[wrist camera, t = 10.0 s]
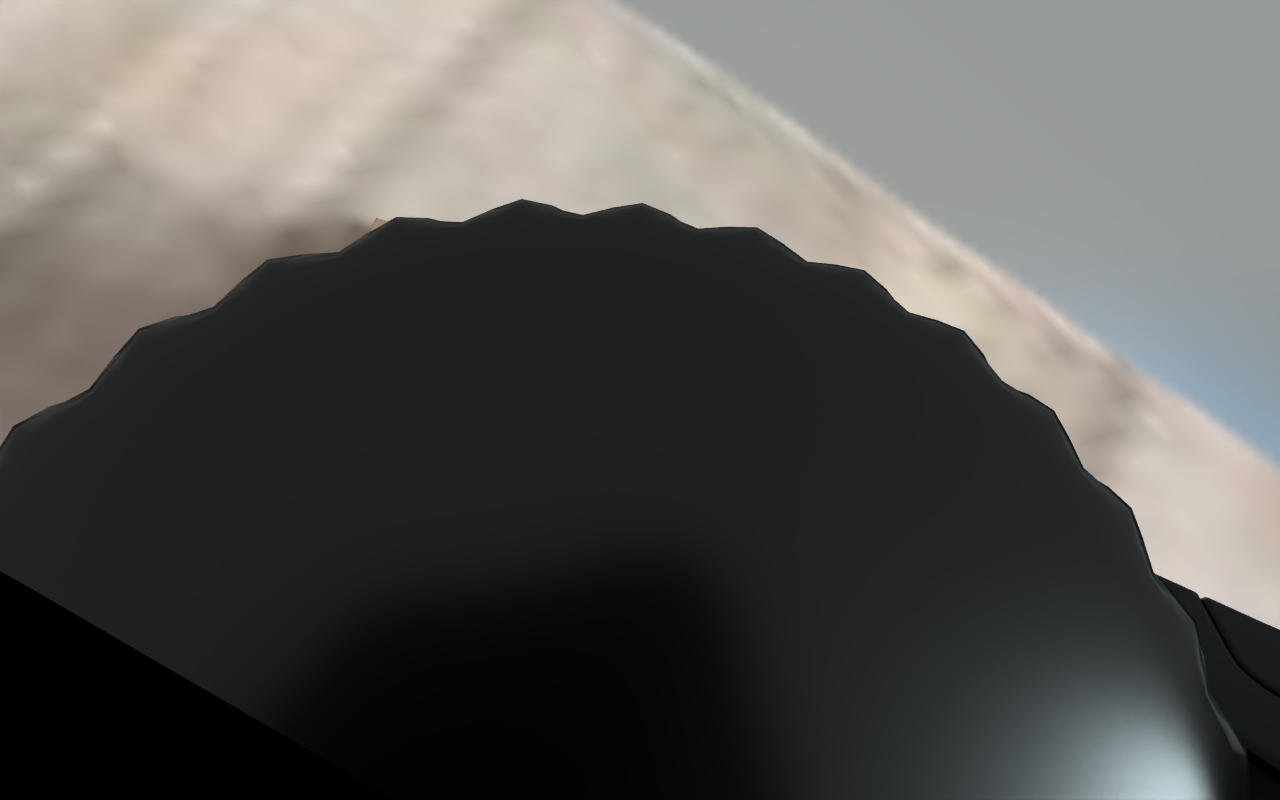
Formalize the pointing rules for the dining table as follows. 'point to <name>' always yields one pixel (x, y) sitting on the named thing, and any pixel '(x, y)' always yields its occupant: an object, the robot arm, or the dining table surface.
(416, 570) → the supplement bottle
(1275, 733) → the robot arm
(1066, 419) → the dining table surface
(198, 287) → the dining table surface
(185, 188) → the dining table surface
